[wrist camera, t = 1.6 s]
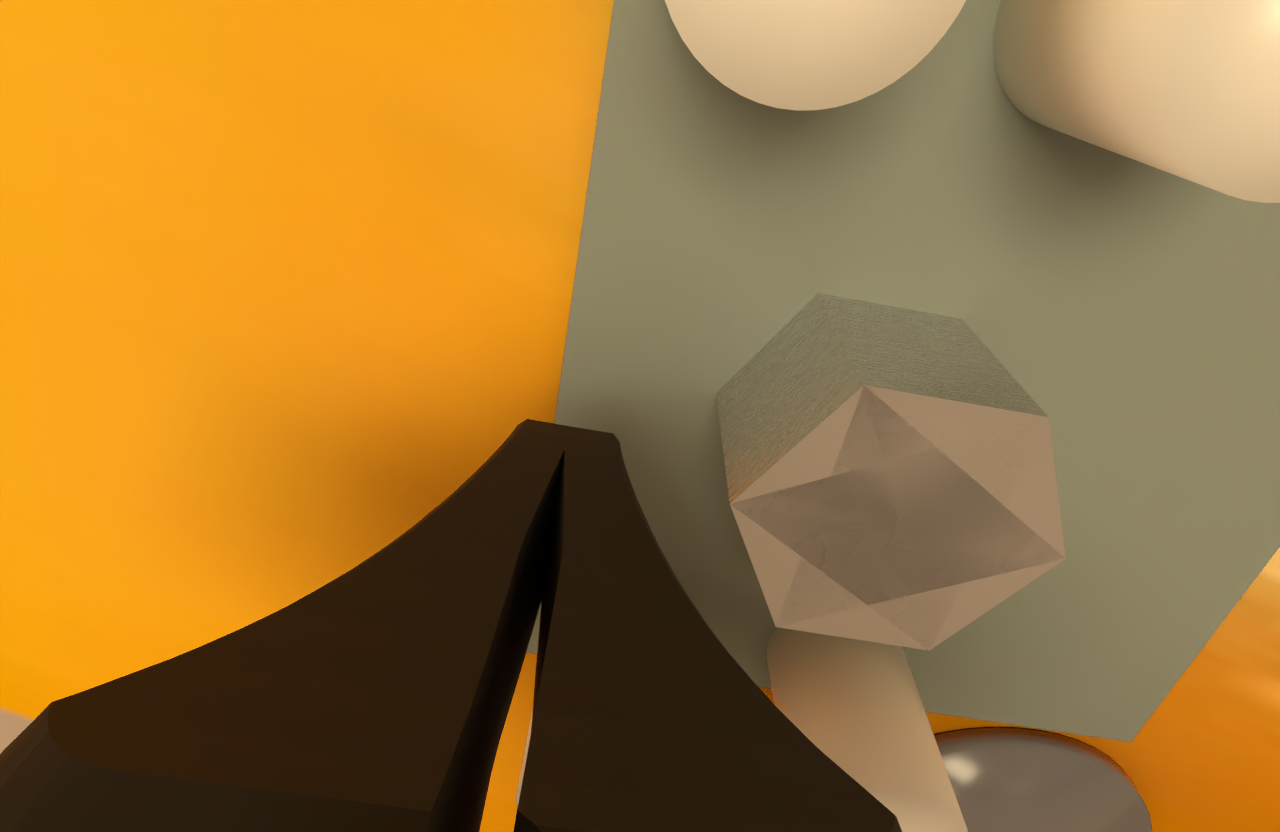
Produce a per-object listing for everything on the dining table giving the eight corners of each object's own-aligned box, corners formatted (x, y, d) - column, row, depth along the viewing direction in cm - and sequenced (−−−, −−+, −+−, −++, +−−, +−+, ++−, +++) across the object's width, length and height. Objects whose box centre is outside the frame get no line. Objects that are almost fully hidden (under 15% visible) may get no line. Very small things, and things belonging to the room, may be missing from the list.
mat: (1651, 15, 11) (1683, 15, 11) (1122, 728, 19) (1130, 742, 19) (645, -207, 10) (644, -214, 10) (524, 639, 18) (522, 651, 18)
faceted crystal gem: (1032, 331, 13) (1139, 433, 10) (938, 530, 16) (1004, 662, 13) (745, 279, 13) (769, 368, 10) (691, 489, 15) (697, 614, 12)
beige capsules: (1255, -79, 10) (1611, -116, 7) (874, 704, 18) (931, 900, 14) (682, -205, 10) (693, -327, 6) (543, 654, 18) (508, 844, 14)
